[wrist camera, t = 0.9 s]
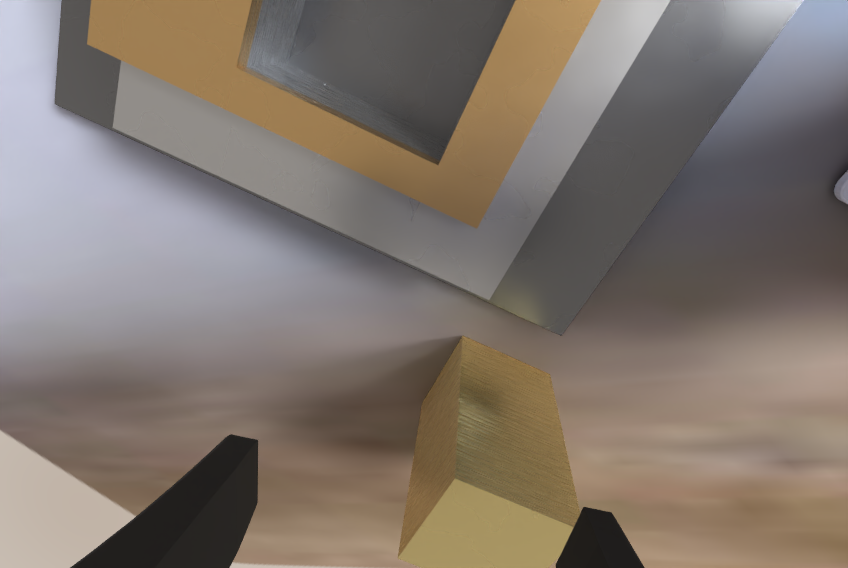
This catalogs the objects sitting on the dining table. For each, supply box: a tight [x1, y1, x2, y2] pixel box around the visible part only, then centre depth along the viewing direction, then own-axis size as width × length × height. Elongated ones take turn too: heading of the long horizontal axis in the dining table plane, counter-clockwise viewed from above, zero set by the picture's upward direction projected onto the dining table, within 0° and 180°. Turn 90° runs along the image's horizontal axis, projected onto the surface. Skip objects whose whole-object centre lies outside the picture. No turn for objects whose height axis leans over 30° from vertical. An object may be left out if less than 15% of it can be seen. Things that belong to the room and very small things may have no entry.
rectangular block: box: [398, 336, 580, 568], centre depth 18 cm, size 4×4×8 cm
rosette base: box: [55, 0, 803, 336], centre depth 13 cm, size 20×15×5 cm
